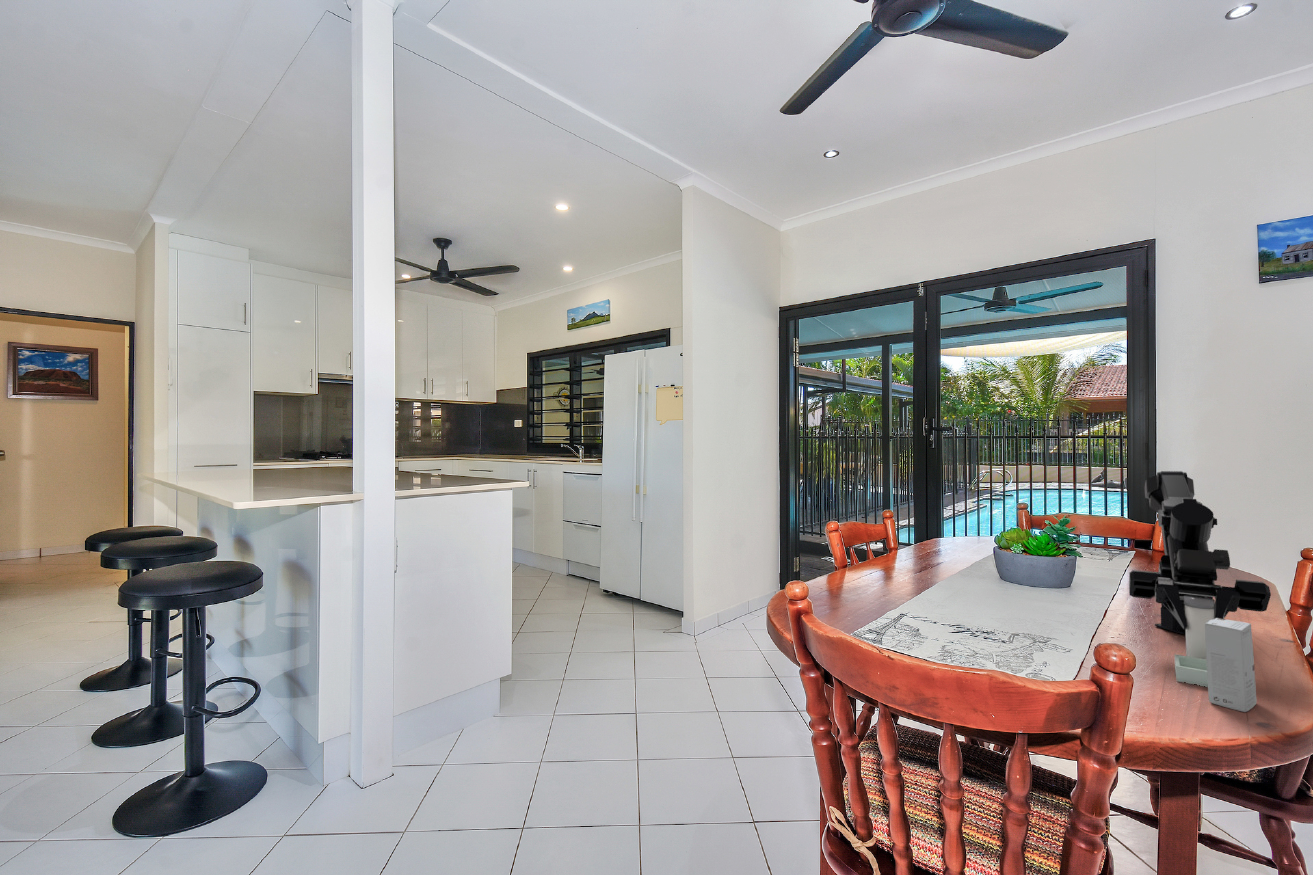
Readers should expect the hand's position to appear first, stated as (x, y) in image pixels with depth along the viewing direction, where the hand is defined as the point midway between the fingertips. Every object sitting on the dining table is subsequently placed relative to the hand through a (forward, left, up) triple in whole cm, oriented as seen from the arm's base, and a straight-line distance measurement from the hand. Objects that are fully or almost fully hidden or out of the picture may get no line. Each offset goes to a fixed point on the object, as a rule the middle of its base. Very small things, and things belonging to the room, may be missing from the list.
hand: (1201, 630), depth 100 cm
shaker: (-1, -1, -7) cm, 7 cm away
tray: (+5, +5, -7) cm, 10 cm away
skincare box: (+11, +12, -7) cm, 18 cm away
